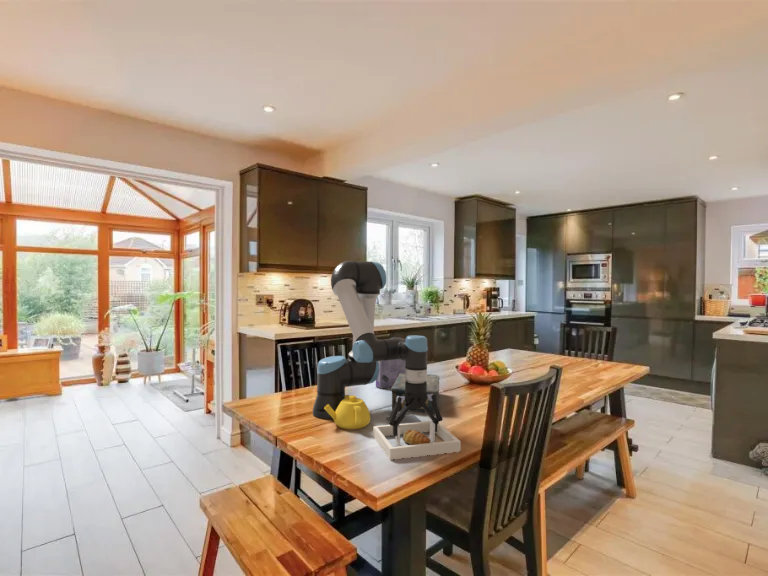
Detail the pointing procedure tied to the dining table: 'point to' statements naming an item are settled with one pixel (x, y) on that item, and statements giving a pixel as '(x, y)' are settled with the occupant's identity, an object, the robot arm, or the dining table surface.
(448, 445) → the white shallow tray
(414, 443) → the pastry
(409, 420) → the mat
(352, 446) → the dining table surface
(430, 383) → the metal box
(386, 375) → the cake pan box
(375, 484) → the dining table surface
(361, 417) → the teapot
